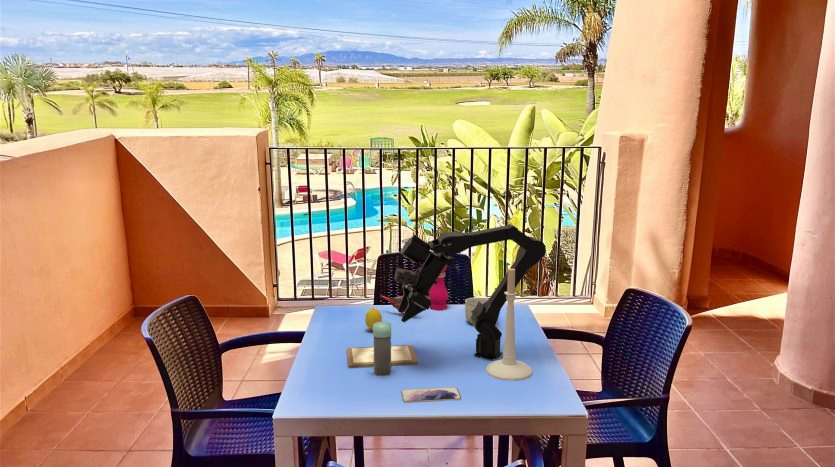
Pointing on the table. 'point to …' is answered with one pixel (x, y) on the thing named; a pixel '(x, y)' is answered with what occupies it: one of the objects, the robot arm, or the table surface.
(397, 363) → the writing board
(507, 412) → the table surface
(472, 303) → the teacup
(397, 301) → the decorative bird figurine
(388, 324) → the canister
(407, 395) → the smartphone
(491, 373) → the candlestick
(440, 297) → the pepper mill
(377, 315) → the lemon
